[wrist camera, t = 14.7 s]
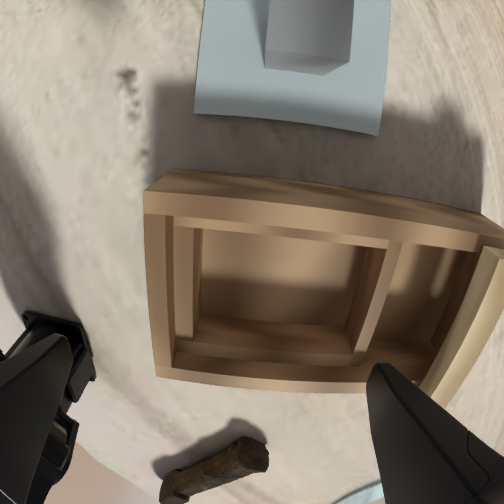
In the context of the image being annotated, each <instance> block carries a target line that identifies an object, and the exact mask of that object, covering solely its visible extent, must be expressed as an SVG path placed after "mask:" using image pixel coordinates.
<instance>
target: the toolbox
mask: <svg viewBox="0 0 504 504" xmlns="http://www.w3.org/2000/svg"><path fill="white" fill-rule="evenodd" d="M143 205H144V244H145V265H146V281H147V295H148V307H149V318H150V328H151V338H152V346H153V355H154V363H155V370H156V376H157V377H163V378H169V379H175V380H181V381H188V382H195V383H202V384H209V385H217V386H226V387H235V388H245V389H256V390H269V391H284V392H304V393H366V383H367V380H368V378H369V375H370V373H371V370H372V368H373V366H374V364H375V363H379V362H388V363H390V364H391V365H392V366H394V367H395V368H396V369H397V370H398V371H400V372H401V373H402V374H403V375H404V376H406V377H407V378H408V379H409V380H410V381H411V382H413V383H414V384H415V385H416V386H417V387H420V385H421V383H422V381H423V380H424V378H425V376H426V375H427V373H428V371H429V369H430V367H431V366H432V364H433V362H434V360H435V358H436V356H437V354H438V352H439V351H440V349H441V347H442V345H443V343H444V341H445V339H446V337H447V335H448V333H449V331H450V328H451V326H452V324H453V322H454V320H455V318H456V316H457V313H458V311H459V309H460V306H461V304H462V302H463V299H464V297H465V295H466V292H467V290H468V287H469V285H470V282H471V280H472V277H473V275H474V272H475V269H476V267H477V264H478V261H479V258H480V255H481V252H482V249H483V246H488V247H494V248H500V249H504V229H503V228H502V227H500V226H499V225H497V224H496V223H494V222H493V221H491V220H490V219H488V218H487V217H485V216H483V215H482V214H479V213H475V212H471V211H466V210H462V209H457V208H453V207H448V206H444V205H439V204H434V203H430V202H425V201H420V200H415V199H409V198H404V197H399V196H393V195H388V194H382V193H377V192H371V191H365V190H359V189H352V188H346V187H339V186H333V185H326V184H319V183H311V182H304V181H296V180H288V179H280V178H271V177H262V176H253V175H243V174H232V173H221V172H209V171H196V170H182V169H173V170H172V171H170V172H169V173H168V174H166V175H165V176H163V177H162V178H161V179H159V180H158V181H156V182H155V183H154V184H152V185H151V186H149V187H148V188H147V189H145V190H144V191H143Z"/></svg>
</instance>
